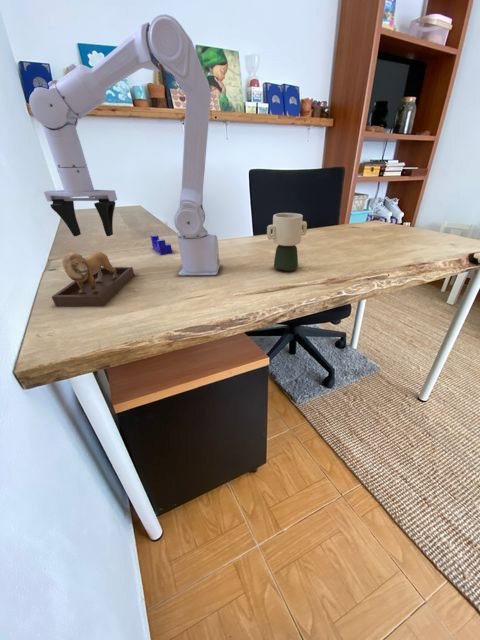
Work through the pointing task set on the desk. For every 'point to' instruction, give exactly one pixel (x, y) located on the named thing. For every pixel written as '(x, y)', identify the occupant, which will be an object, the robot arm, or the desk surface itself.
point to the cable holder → (160, 245)
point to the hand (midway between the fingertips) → (93, 235)
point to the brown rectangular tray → (100, 298)
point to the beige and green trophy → (286, 239)
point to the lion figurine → (87, 268)
